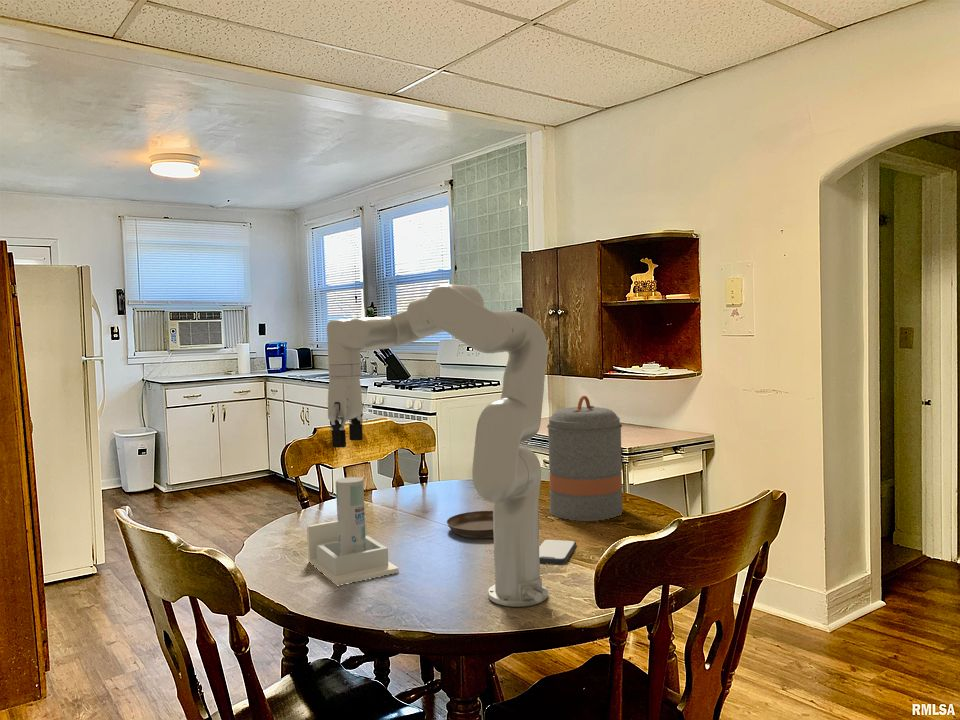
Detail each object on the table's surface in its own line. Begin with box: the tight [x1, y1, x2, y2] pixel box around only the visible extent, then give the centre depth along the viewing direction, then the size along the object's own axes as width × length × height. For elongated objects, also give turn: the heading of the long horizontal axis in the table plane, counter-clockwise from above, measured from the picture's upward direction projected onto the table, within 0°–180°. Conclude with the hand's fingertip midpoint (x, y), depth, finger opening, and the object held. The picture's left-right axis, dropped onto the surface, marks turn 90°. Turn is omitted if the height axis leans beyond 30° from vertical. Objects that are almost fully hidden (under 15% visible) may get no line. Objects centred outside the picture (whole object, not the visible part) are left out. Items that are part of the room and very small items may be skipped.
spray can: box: [335, 476, 366, 556], centre depth 174 cm, size 6×6×20 cm
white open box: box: [306, 516, 400, 586], centre depth 174 cm, size 20×15×9 cm
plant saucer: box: [446, 510, 494, 539], centre depth 203 cm, size 21×21×3 cm
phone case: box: [539, 539, 577, 565], centre depth 181 cm, size 9×2×16 cm
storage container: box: [546, 395, 624, 522], centre depth 219 cm, size 22×22×35 cm
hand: (348, 443), depth 173 cm, fingers open, 9 cm apart
